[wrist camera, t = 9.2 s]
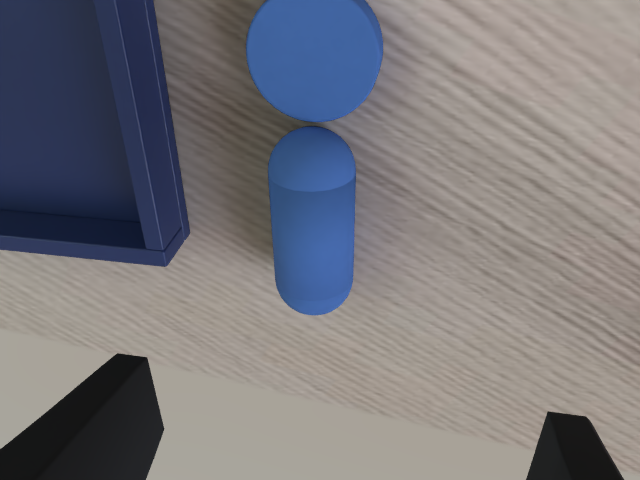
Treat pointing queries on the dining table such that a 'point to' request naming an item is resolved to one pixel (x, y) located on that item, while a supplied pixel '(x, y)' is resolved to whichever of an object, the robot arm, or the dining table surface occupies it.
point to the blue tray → (87, 133)
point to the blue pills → (313, 138)
